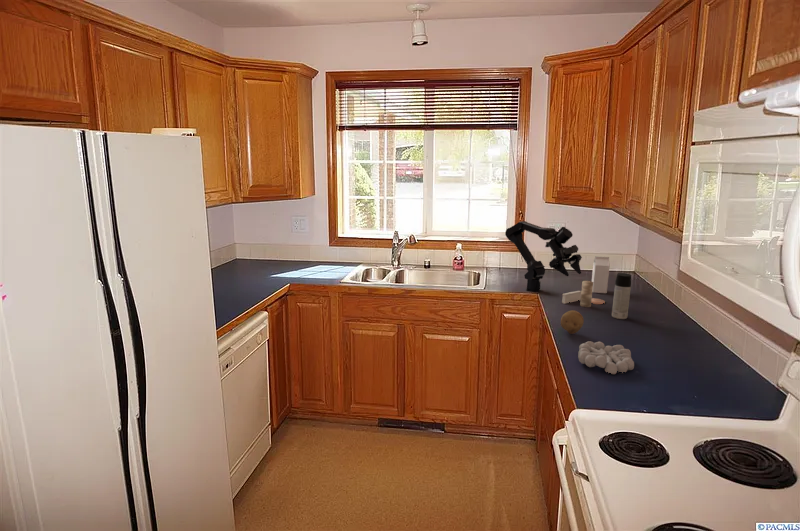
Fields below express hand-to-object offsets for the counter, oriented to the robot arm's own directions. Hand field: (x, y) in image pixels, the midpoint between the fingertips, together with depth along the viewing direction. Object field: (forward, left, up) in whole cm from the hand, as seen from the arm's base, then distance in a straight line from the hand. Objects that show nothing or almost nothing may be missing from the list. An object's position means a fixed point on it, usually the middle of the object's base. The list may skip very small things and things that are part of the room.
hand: (574, 274), depth 263 cm
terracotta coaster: (+11, +4, -14) cm, 18 cm away
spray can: (+20, -19, -14) cm, 31 cm away
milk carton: (+14, +26, -14) cm, 33 cm away
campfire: (+10, -78, -14) cm, 80 cm away
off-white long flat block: (0, 0, -14) cm, 14 cm away
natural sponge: (-1, -50, -14) cm, 52 cm away
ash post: (+6, -5, -14) cm, 16 cm away
